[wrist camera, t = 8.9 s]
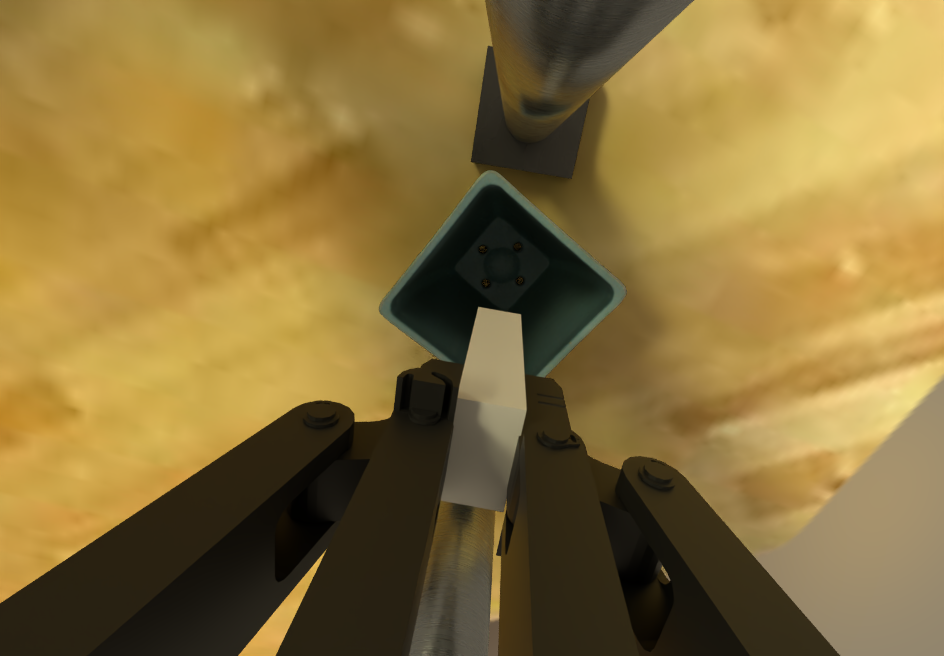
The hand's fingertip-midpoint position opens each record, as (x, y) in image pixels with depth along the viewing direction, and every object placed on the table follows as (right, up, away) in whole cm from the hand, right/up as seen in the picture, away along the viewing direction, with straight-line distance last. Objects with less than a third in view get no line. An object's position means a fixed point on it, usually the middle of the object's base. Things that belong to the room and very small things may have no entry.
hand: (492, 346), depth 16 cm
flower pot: (+1, +5, +14) cm, 15 cm away
